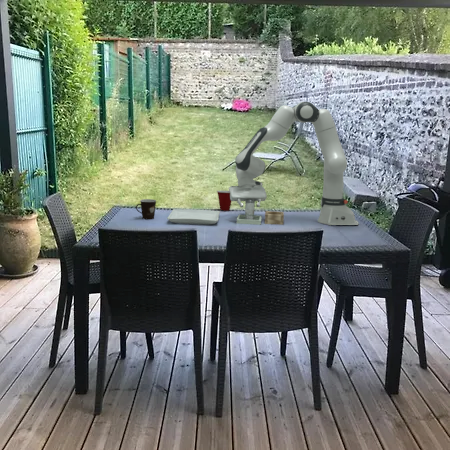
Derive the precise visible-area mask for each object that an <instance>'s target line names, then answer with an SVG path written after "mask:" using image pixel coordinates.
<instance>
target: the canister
mask: <svg viewBox="0 0 450 450" xmlns="http://www.w3.org/2000/svg"><path fill="white" fill-rule="evenodd" d="M244 204H245V205H244V215H245V219H246V220H254V215H255V204H256V201H255V200H252V199H247V200H245V201H244Z"/></svg>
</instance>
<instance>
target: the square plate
mask: <svg viewBox="0 0 450 450" xmlns="http://www.w3.org/2000/svg"><path fill="white" fill-rule="evenodd" d="M220 213H221V210H208V209H194V208H193V209H191V208H190V209H189V208H174V209H172V210H171V212H170V213H169V215H168V217H166V218H167V220H168V221H169V222H171V223H174V224H182V225H183V224H185V225H187V224H189V225H214V224H216V223H217V222H218V221H219V218H220Z"/></svg>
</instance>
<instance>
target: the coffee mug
mask: <svg viewBox="0 0 450 450" xmlns="http://www.w3.org/2000/svg"><path fill="white" fill-rule="evenodd" d="M156 204H157V200H156V199H153V198H145V199H144V198H142V199H140V203H138V204H136V205H135V210H136V211H137V212H138V213H140V214H141V217H142V219H143V220H150V221H151V220H154V219H155V213H156ZM138 206H140V208H141V211H140V210H138Z"/></svg>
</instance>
